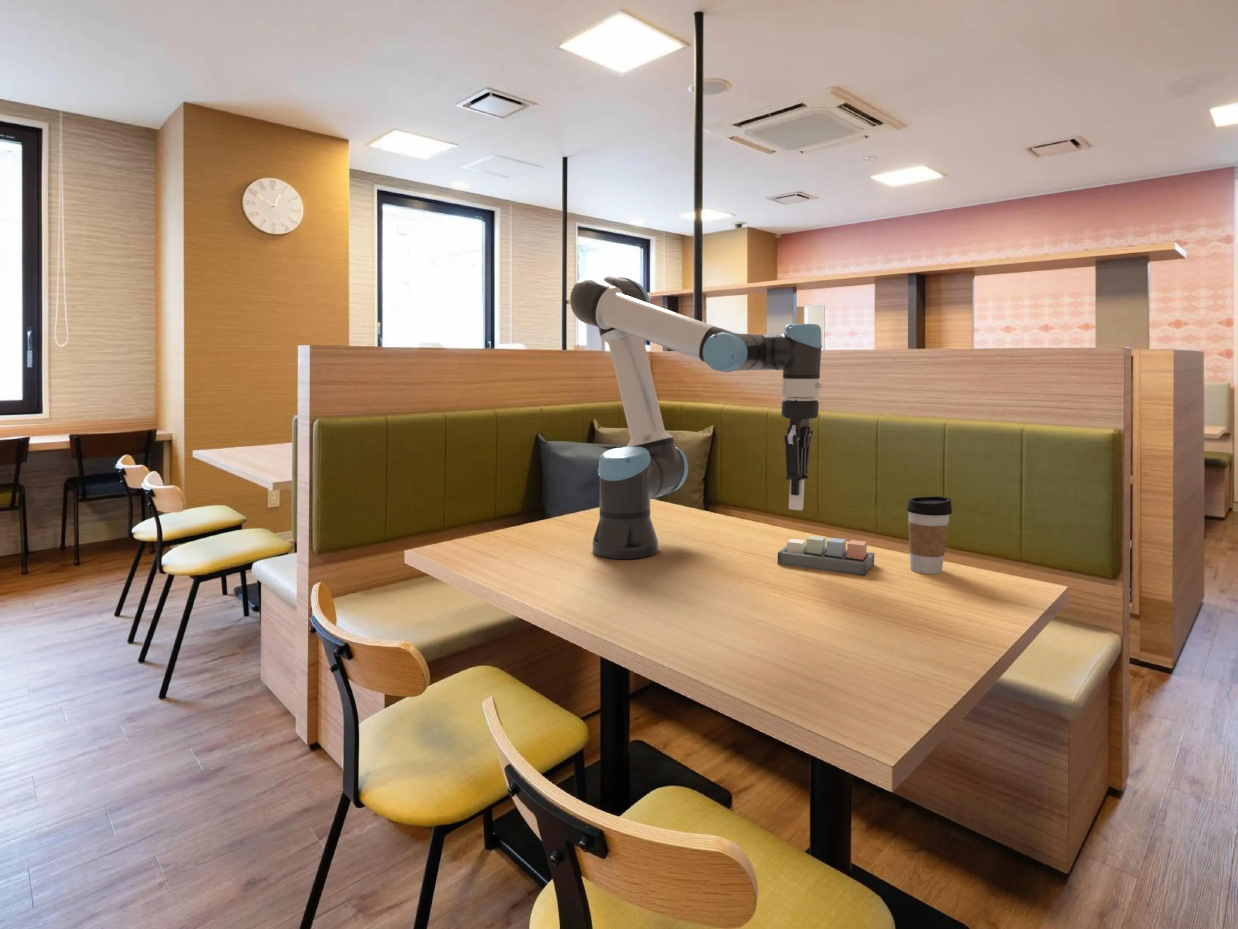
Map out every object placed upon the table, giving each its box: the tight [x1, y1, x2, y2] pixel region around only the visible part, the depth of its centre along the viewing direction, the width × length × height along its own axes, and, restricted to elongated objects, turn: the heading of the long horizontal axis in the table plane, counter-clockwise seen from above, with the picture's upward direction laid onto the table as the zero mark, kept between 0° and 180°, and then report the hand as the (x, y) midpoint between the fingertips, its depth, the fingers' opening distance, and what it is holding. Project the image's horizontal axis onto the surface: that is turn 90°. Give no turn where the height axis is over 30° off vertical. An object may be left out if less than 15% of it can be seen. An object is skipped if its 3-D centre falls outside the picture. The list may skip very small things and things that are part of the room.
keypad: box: [777, 544, 875, 577], centre depth 147 cm, size 18×9×2 cm, turn 60°
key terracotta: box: [846, 539, 868, 560], centre depth 143 cm, size 3×3×3 cm
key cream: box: [786, 538, 807, 554], centre depth 150 cm, size 3×3×3 cm
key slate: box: [826, 537, 847, 557], centre depth 146 cm, size 3×3×3 cm
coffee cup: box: [906, 495, 953, 575], centre depth 141 cm, size 8×8×15 cm
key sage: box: [806, 535, 827, 554], centre depth 148 cm, size 3×3×3 cm
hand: (795, 509), depth 149 cm, fingers closed
